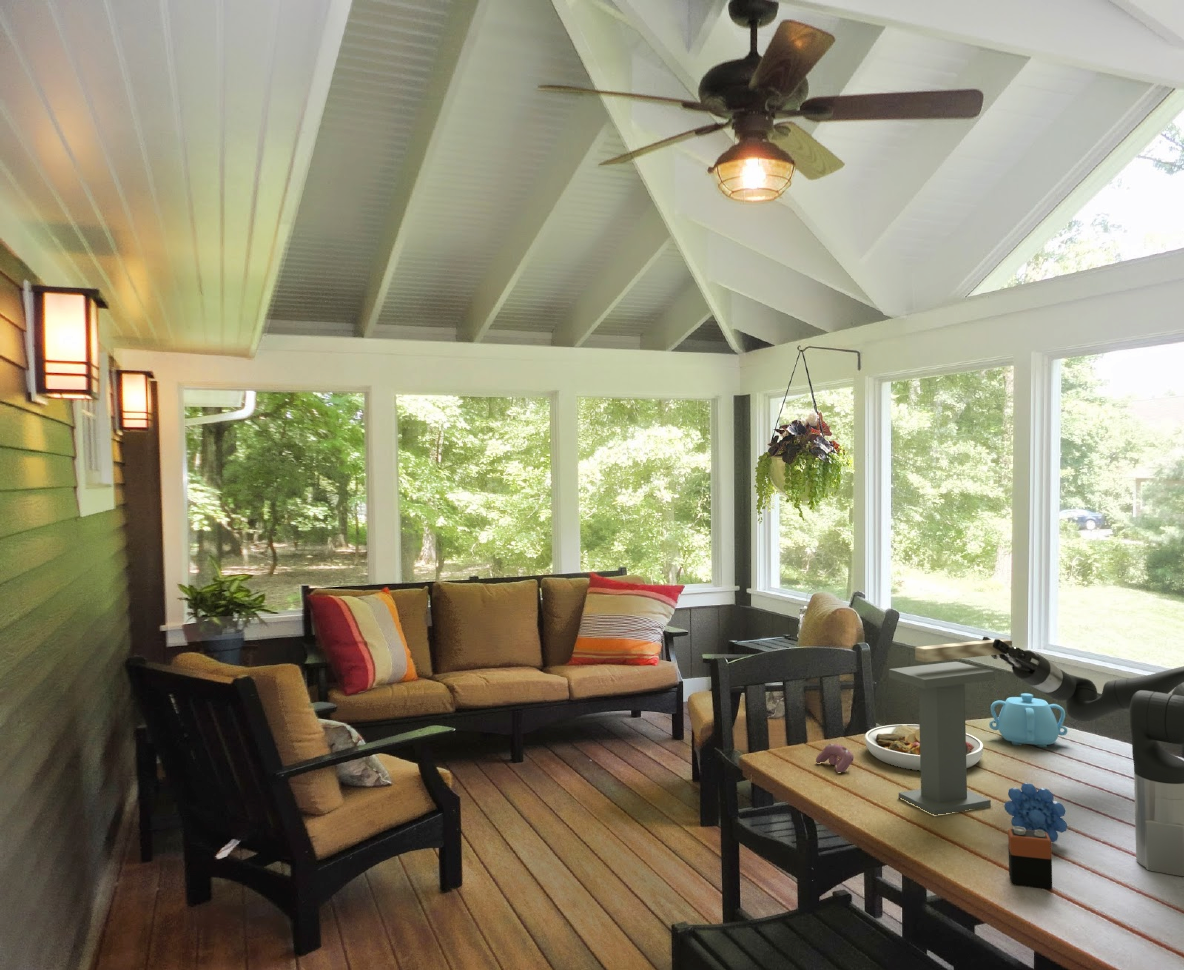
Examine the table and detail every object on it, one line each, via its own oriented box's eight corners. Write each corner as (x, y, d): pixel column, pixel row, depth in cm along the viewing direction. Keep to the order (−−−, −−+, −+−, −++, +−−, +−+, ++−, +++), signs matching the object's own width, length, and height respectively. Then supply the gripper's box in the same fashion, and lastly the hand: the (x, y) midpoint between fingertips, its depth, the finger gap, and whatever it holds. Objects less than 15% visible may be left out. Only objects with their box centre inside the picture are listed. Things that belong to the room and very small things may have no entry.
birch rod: (1002, 650, 208) (1002, 638, 208) (1012, 652, 205) (1012, 640, 205) (915, 659, 199) (915, 647, 199) (924, 662, 197) (924, 649, 197)
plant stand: (959, 788, 209) (956, 661, 209) (997, 805, 198) (994, 671, 198) (891, 800, 202) (888, 669, 202) (927, 818, 191) (924, 679, 191)
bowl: (842, 751, 240) (841, 723, 240) (918, 735, 254) (917, 709, 254) (928, 784, 213) (928, 752, 213) (1008, 763, 227) (1007, 734, 227)
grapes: (1006, 845, 176) (1005, 787, 176) (1004, 832, 182) (1002, 776, 182) (1070, 853, 172) (1069, 793, 172) (1066, 840, 178) (1064, 782, 178)
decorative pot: (1030, 731, 255) (1029, 685, 255) (1074, 746, 239) (1072, 697, 239) (984, 737, 250) (983, 690, 250) (1026, 752, 235) (1024, 703, 235)
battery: (1008, 875, 163) (1007, 822, 163) (1048, 880, 161) (1047, 826, 161) (1011, 885, 159) (1010, 831, 159) (1052, 890, 156) (1051, 836, 156)
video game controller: (850, 778, 222) (859, 752, 223) (837, 773, 220) (846, 747, 222) (825, 767, 231) (834, 742, 232) (813, 762, 229) (822, 737, 231)
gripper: (1056, 691, 203) (1006, 660, 198) (1009, 679, 216) (961, 650, 211) (1067, 663, 204) (1018, 631, 199) (1020, 652, 217) (972, 622, 212)
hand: (989, 641), depth 205 cm, fingers closed on birch rod, 3 cm apart
